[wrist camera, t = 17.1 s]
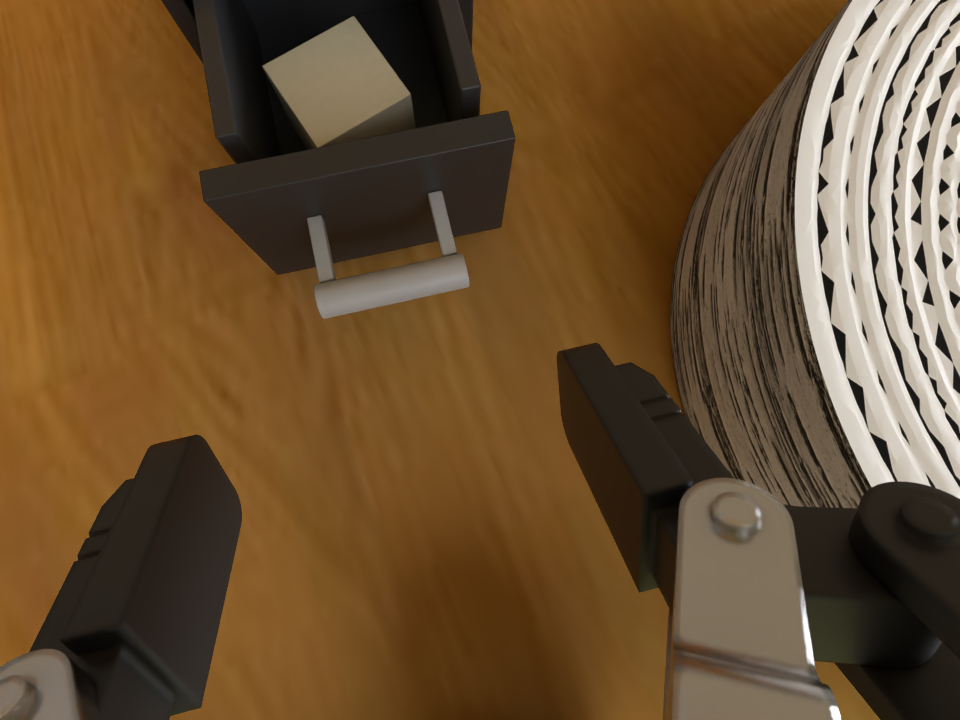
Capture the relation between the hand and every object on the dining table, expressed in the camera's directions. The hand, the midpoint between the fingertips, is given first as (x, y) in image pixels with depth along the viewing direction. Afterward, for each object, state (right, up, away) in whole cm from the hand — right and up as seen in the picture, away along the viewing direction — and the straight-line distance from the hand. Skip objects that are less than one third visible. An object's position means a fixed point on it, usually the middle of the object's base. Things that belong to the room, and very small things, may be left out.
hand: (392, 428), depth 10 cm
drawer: (-4, +11, +18) cm, 21 cm away
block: (-4, +12, +17) cm, 21 cm away
